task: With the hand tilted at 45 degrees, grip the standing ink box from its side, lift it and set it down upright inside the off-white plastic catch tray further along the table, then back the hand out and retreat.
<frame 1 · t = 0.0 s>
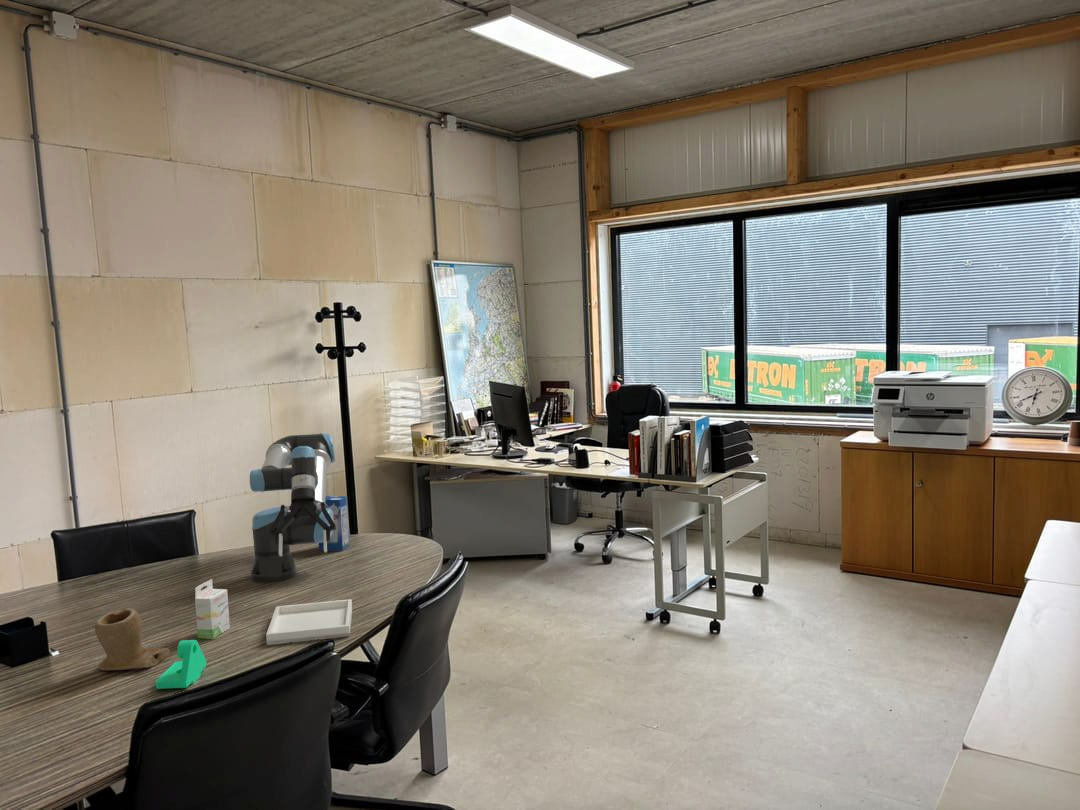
hand: (303, 553, 249), 15 cm above the table, tool tilted 35°, fingers open, 13 cm apart
catch tray: (312, 625, 228), on the table
milk carton: (334, 548, 308), on the table
ink box: (214, 634, 225), on the table
camera mount: (181, 681, 195), on the table
stone cup: (130, 667, 204), on the table
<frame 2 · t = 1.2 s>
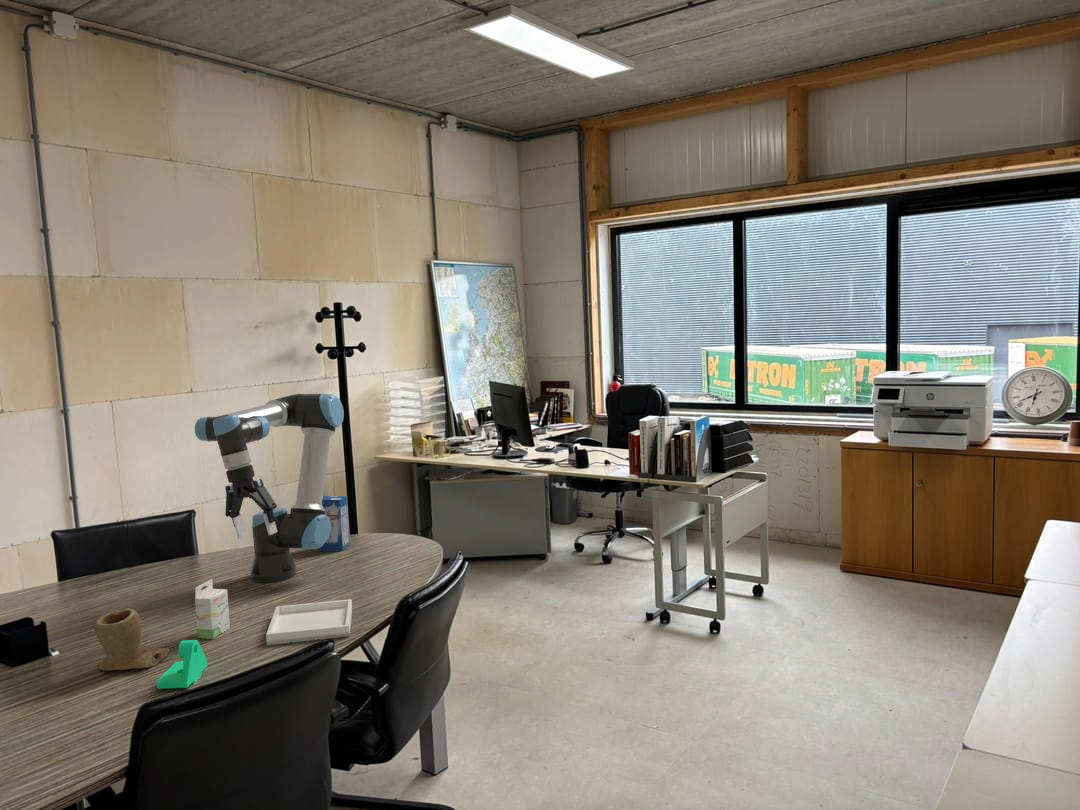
hand: (257, 535, 235), 25 cm above the table, tool pointing down, fingers open, 13 cm apart
nothing on the table moved.
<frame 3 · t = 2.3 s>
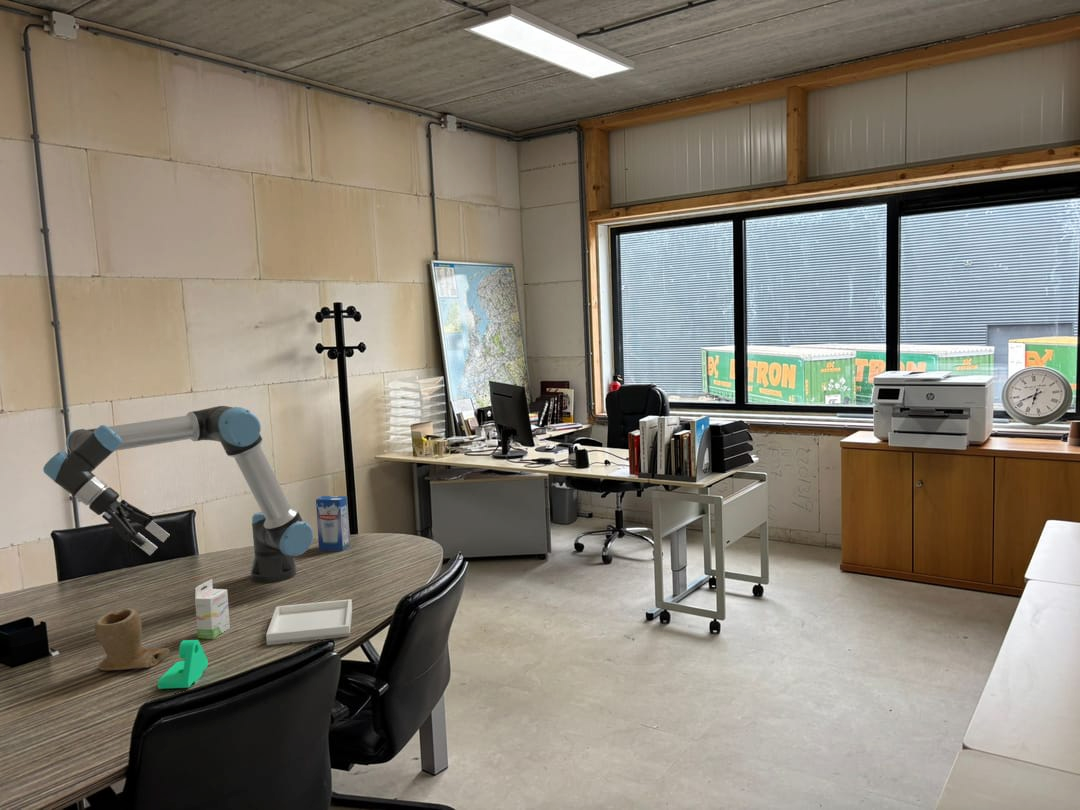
hand: (160, 544, 224), 26 cm above the table, tool tilted 45°, fingers open, 13 cm apart
nothing on the table moved.
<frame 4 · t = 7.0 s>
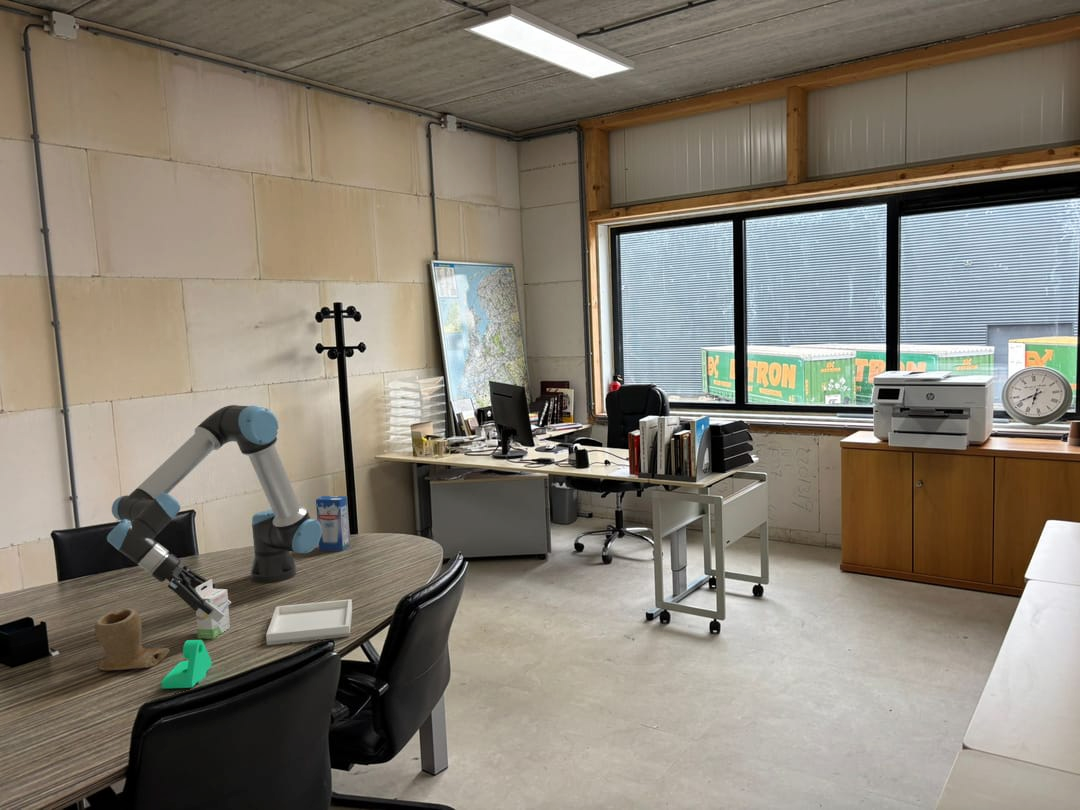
hand: (224, 612, 225), 6 cm above the table, tool tilted 45°, fingers closed on ink box, 9 cm apart
ink box: (214, 634, 225), on the table, touching gripper
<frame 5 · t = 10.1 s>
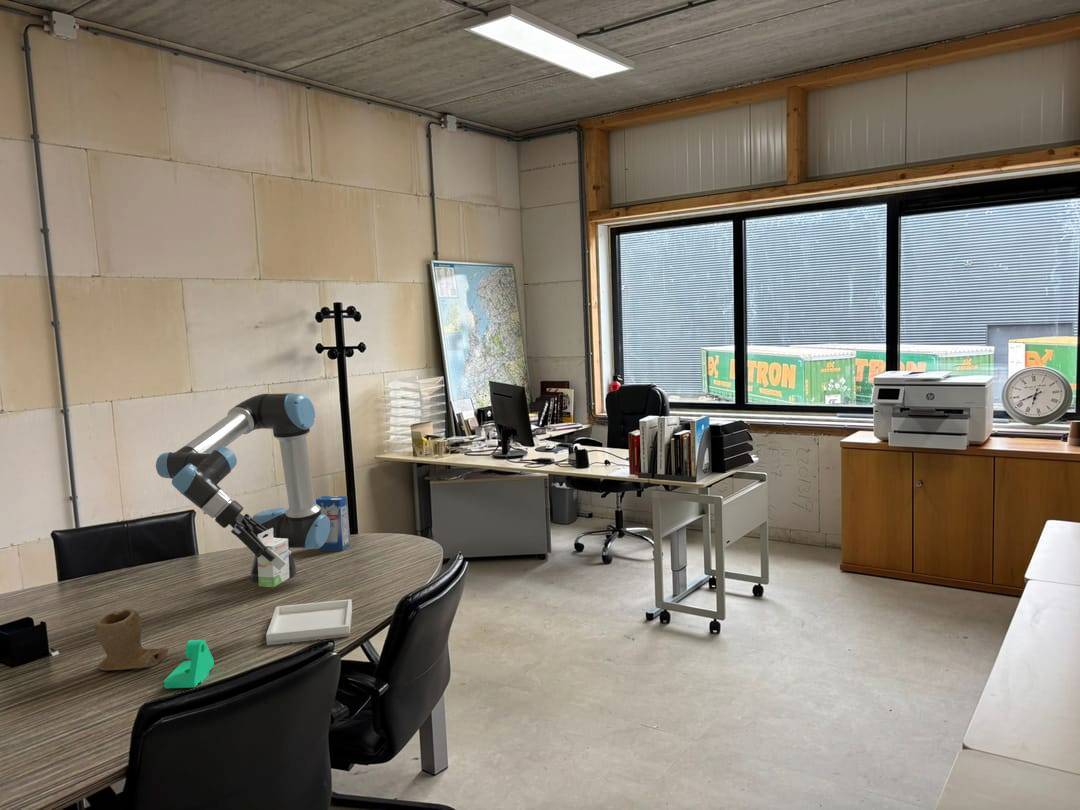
hand: (285, 561, 224), 20 cm above the table, tool tilted 45°, fingers closed on ink box, 9 cm apart
ink box: (274, 582, 224), point 14 cm above the table, touching gripper
when the fingers open (8 cm above the table, at t = 13.6 s): ink box drops 1 cm, resting on catch tray.
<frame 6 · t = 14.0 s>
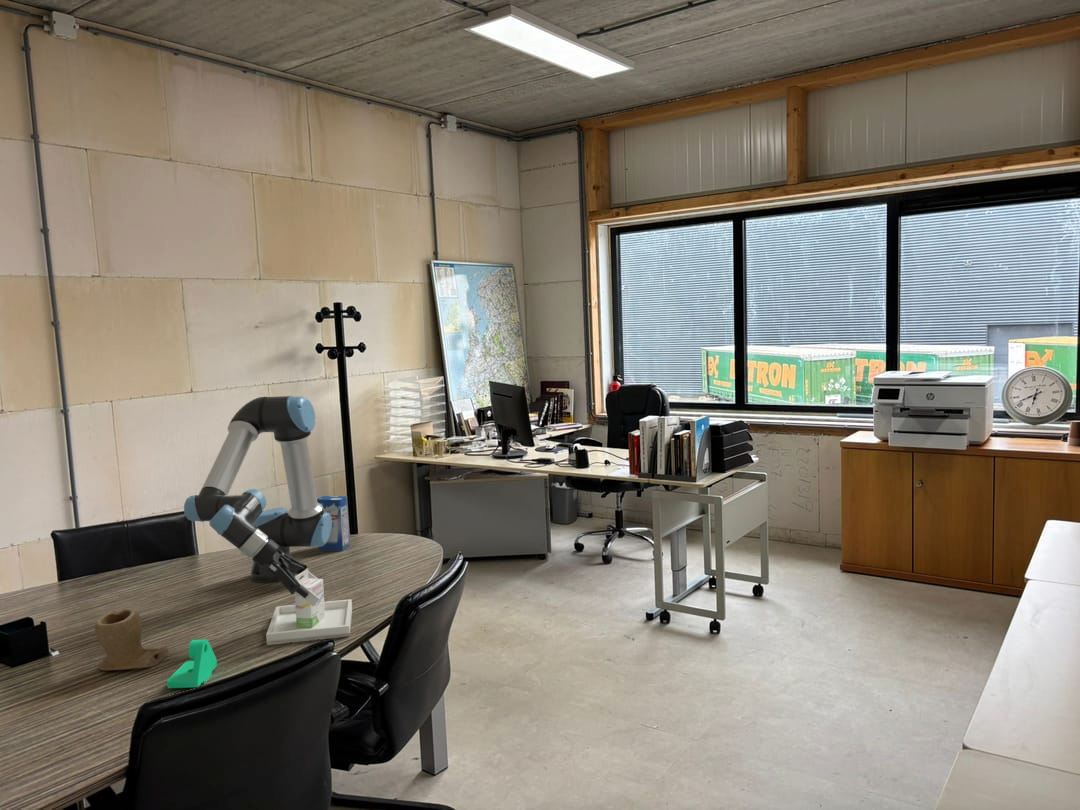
hand: (318, 594, 228), 9 cm above the table, tool tilted 45°, fingers open, 13 cm apart
ink box: (311, 622, 229), point 1 cm above the table, touching catch tray
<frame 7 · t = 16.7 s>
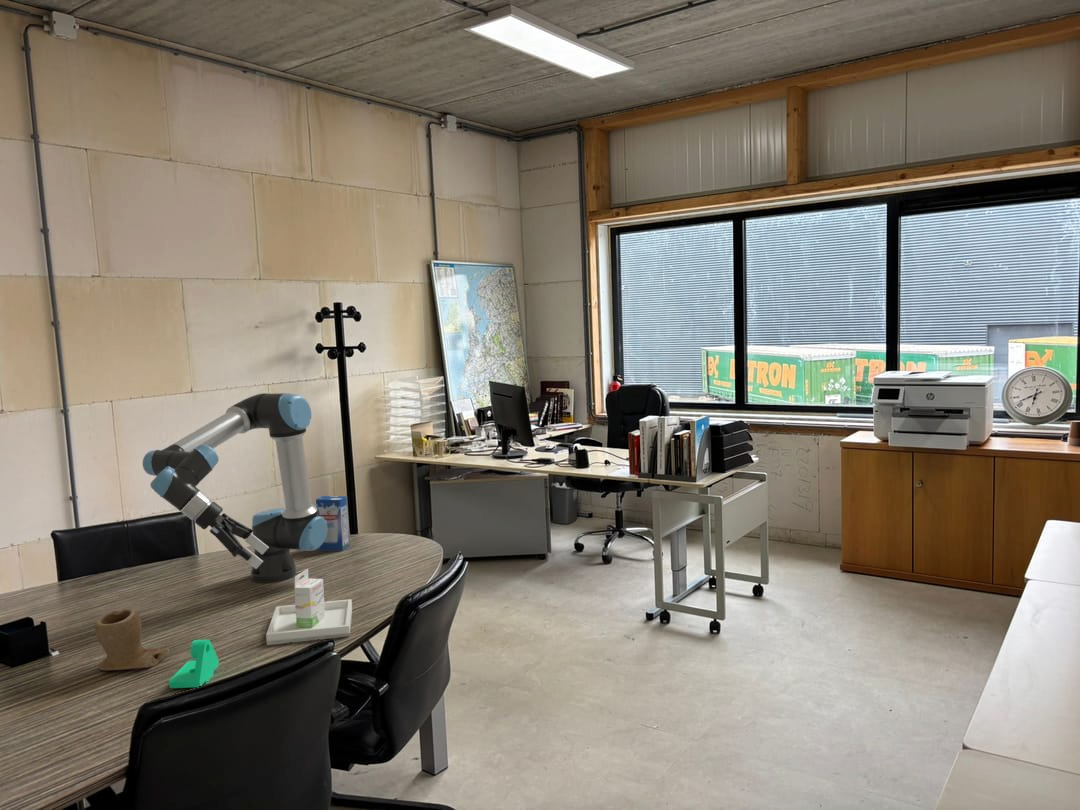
hand: (262, 558, 226), 21 cm above the table, tool tilted 45°, fingers open, 13 cm apart
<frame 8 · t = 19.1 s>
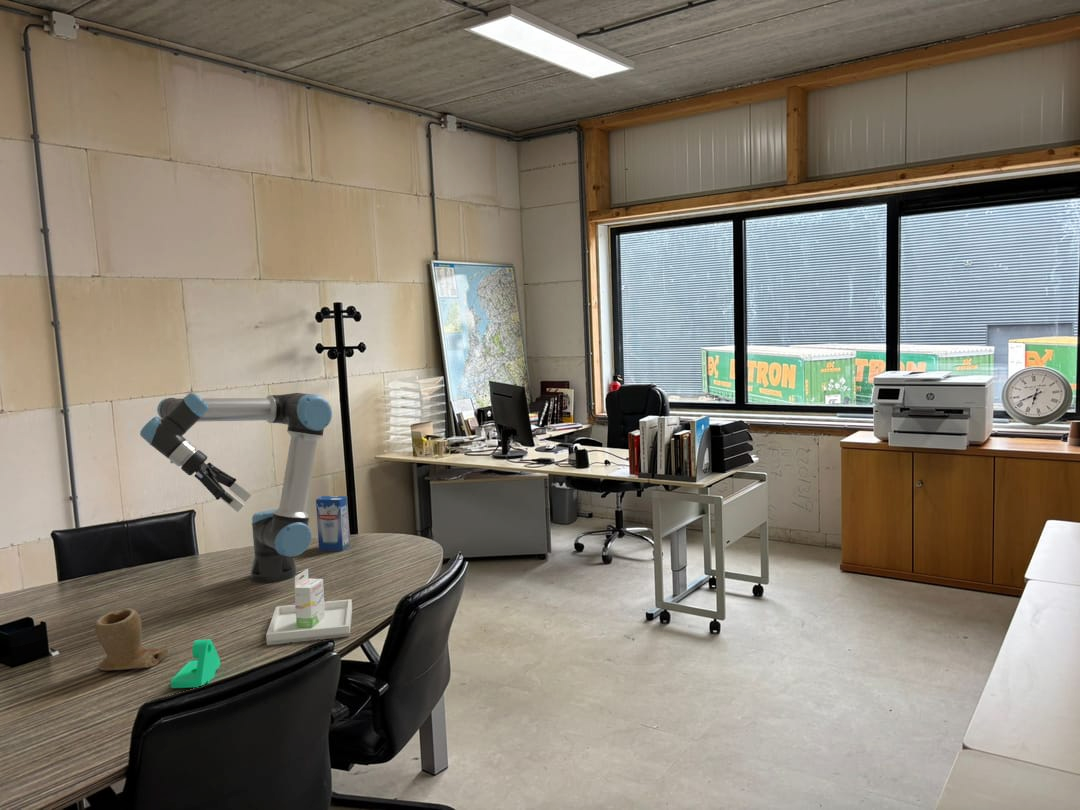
hand: (244, 503, 242), 33 cm above the table, tool tilted 45°, fingers open, 13 cm apart
at the end: ink box inside the target area on the catch tray (0.3 cm from its centre), point 0.8 cm above the catch tray's base; ink box tilted 0°; the gripper is holding nothing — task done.
